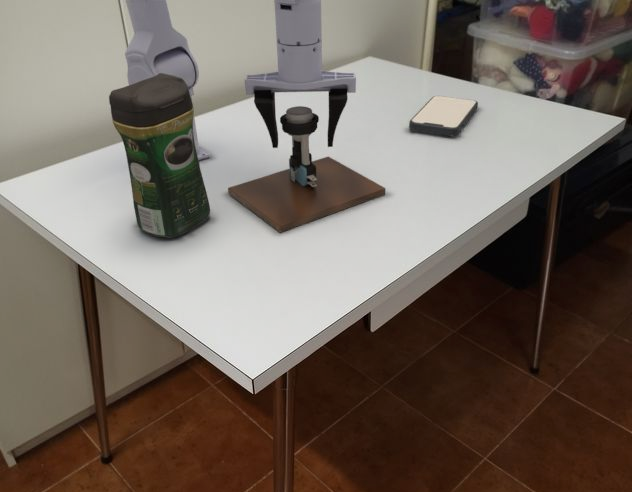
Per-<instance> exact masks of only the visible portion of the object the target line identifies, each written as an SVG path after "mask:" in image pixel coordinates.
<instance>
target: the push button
mask: <svg viewBox="0 0 632 492" xmlns="http://www.w3.org/2000/svg"><path fill="white" fill-rule="evenodd" d="M319 121H320V117H319V115H318V114H317V113H314V112H313V110H312V108H310V107H308V106H303V105H299V106H298V105H297V106H292V107H289V108H287V109H286V111H285V113H284V114H282V115H281V116H280V117H279V122H280V125H281V130H282V132H283V133H285V134H287V135H288V136H290V137H291V144H292V145H291V146H292V147H291V155H290V156H289V158H288V167H289V168H288V169H289V170H290V171H289V173H290V176H291V179H292V180H293V181H294V182H295V180H297V181H298V182H299V183H300V184H301V185H302V186H306V185H311V186H312V187H315V186H317V185H316V184H315V182H314V181H315V180H317V179H316V178H315V177H316V166H315V165H314V164H313V163H312V161H313V157H312V153H311V152H310V136H311V135H312V134H313V133H315V132H316V130H317V129H318V123H319ZM313 184H314V185H313Z"/></svg>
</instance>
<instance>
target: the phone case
mask: <svg viewBox="0 0 632 492" xmlns="http://www.w3.org/2000/svg"><path fill="white" fill-rule="evenodd" d="M478 106H479V102H478V101H477V100H475V99H468V98H459V97H452V96H444V95H435V96H432V97H431V98H430V99H429V100H428V101H427V102H426V103H425V104H424V105H423V106H422V107H421V109H420V110H419V111H418V112H417V113H415V115H414V116H412V118H411V119H410V120H409V122H408V128H409V130H411V131H415V132H422V133H428V134H434V135H435V134H436V135H442V136H448V137H449V136H450V137H455V136H458V135H459V134H460V132H461V131H462V130H463V128H464V127H465V126H466V124H467V123H468V122H469V120H471V118H472V116H473V115H474V114H475V112H476V111H477V110H478Z"/></svg>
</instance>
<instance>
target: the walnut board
mask: <svg viewBox="0 0 632 492" xmlns="http://www.w3.org/2000/svg"><path fill="white" fill-rule="evenodd" d="M312 163H313V164H314V165H315V166H316V177H315V178H316V179H317V180H315V181H314V182H315V184H316V185H317V186H315V187H312V186H311V185H306V186H302V185H301V184H300V183H299V182H298V181H297V180H295V182H294V181H293V180H292V179H291V176H290V173H289V171H290V170H289V168H287V169H283V170H280V171H277V172H275V173H271V174H268V175H265V176H264V175H263V176H261V177H258V178H255V179H252V180H249V181H245V182H242V183H239V184H236V185H232V186H229V187H228V188H227V193H228V195H229V196H231V197H232V198H233V199H235V201H237V202H239V203H240V204H241V205H243V207H245V208H247V209H248V211H251V212H252V213H253V214H254V215H256V216H257V217H258V218H260V219H261V220H263V221H264V222H265V223H267V225H269V226H271V227H272V228H273V229H275V230H276V231H277V232H279V233H283V232H286V231H289V230H291V229H293V228H297V227H299V226H302V225H305V224H308V223H310V222H313V221H315V220H318V219H322V218H324V217H327V216H329V215H332V214H336V213H338V212H341V211H343V210H346V209H349V208H351V207H355V206H357V205H360V204H362V203H366V202H368V201H371V200H374V199H376V198H379V197H382V196H384V195H386V187H384V186H383V185H380V184H379V183H377V182H375V181H373V180H372V179H370V178H368V177H366V176H364V175H362V174H361V173H359V172H357V171H355V170H353V169H352V168H350V167H348V166H347V165H344V164H342V163H341V162H339V161H338V160H336V159H334V158H332V157H330V156H325V157H322V158H319V159H315V160H312ZM313 185H314V184H313Z"/></svg>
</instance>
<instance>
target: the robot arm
mask: <svg viewBox="0 0 632 492" xmlns="http://www.w3.org/2000/svg"><path fill="white" fill-rule="evenodd" d="M273 3H274V17H275V19H274V20H275V37H276V38H275V39H276V56H277V71H275V72H267V73H257V74H246V75H245V77H244V87H245V90H244V91H245V95H250V96H251V95H252V96H254V97H253V98H254V99H253V103H254V105H255V108H256V110H257V111H258V113H259V114H260V116H261V118H262V120H263V122H264V124H265V127H266V129H267V131H268V135H269V137H270V141H271V146H272V148H273V149H278V148H279V147H278V146H279V132H278V131H279V130H278V124H277V116H276V93H315V92H319V93H321V92H328V123H327V147H328V148H332V147H333V146H334V138H335V133H336V130H337V126H338V124H339V120H340V118H341V116H342V114H343V112H344V109H345V108H346V106H347V102H348V93H349V94H350V93H353V94H355V93H356V92H357V91H356V90H357V75H356V72H339V71H328V70H323V49H322V48H323V47H322V46H323V45H322V44H323V43H322V40H323V38H322V36H323V35H322V34H323V33H322V0H273ZM125 5H126V7H127V12H128V15H129V19H130V21H131V26H132V29H133V32H134V33H133V37H132V38H131V40H130V42H129V44H128V46H127V47H126V49H125V52H124V56H125V60H126V63H127V73H126V74H127V75H126V76H127V77H126V78H127V83H128V86H129V85H132V84H134V83H137V82H139V81H142V80H145V79H148V78H151V77H154V76H156V75H158V74H159V73H163V74H168V75H172V76H176V77H179V78H182V79H183V80H184V81H185V83H186V84H187V86H188V89H189V92H190V96H191V100H192V101H193V99H192V97H193V96H194V95H195V91H194V88H195V86H196V85H197V84H198V82H199V78H200V75H199V74H200V72H199V66H198V63H197V61H196V59H195V57H194V55H193V54H192V52H191V50H190V47H189V43H188V39H187V38H186V36H185V35H183V34H182V33H180V32H179V31H178V30H176V28H175V27H173V24H172V21H171V16H170V12H169V8H168V3H167V0H125ZM193 136H194V142H195V148H196V152H197V156H198V161H201V160H203V159H207V158H210V153H209V152H208V151H206V150H205V149H203V148H202V147H201V146H199V139H198V133H197V125H196V118H195V115H194V116H193Z"/></svg>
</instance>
